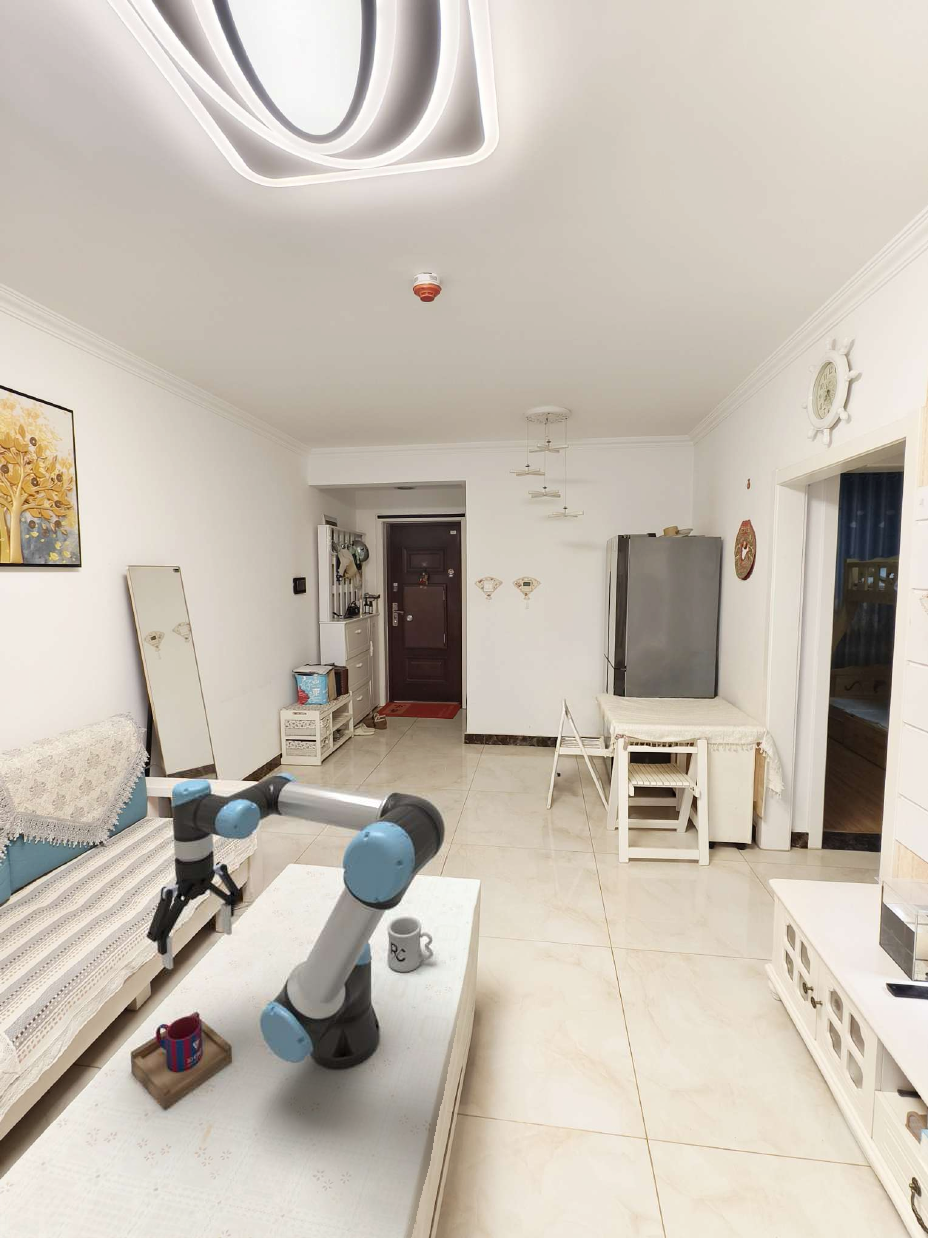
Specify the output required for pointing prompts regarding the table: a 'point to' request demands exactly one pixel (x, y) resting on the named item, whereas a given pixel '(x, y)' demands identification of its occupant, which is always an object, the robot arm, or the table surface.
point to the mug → (406, 944)
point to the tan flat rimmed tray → (175, 1085)
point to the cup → (182, 1043)
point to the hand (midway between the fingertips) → (198, 949)
